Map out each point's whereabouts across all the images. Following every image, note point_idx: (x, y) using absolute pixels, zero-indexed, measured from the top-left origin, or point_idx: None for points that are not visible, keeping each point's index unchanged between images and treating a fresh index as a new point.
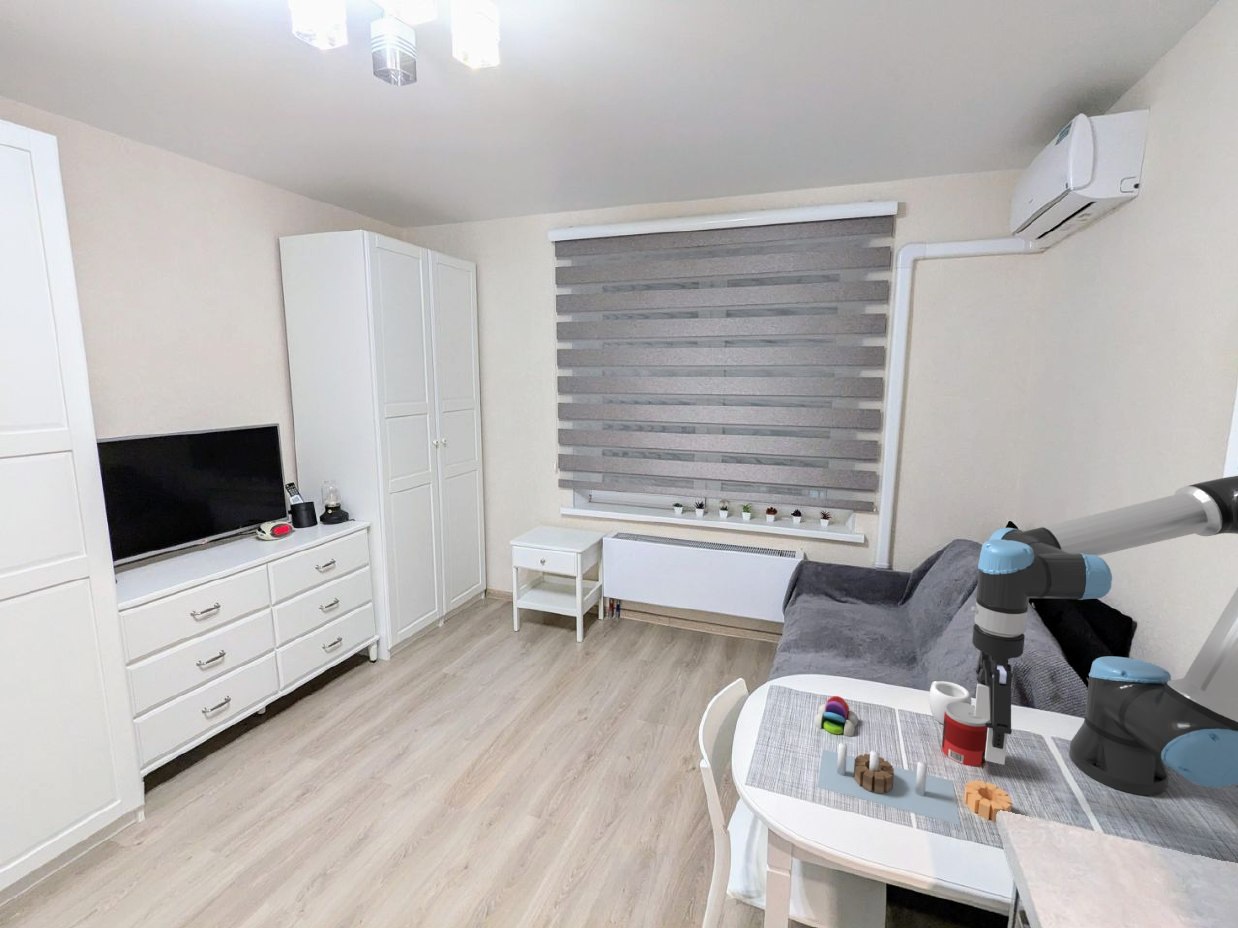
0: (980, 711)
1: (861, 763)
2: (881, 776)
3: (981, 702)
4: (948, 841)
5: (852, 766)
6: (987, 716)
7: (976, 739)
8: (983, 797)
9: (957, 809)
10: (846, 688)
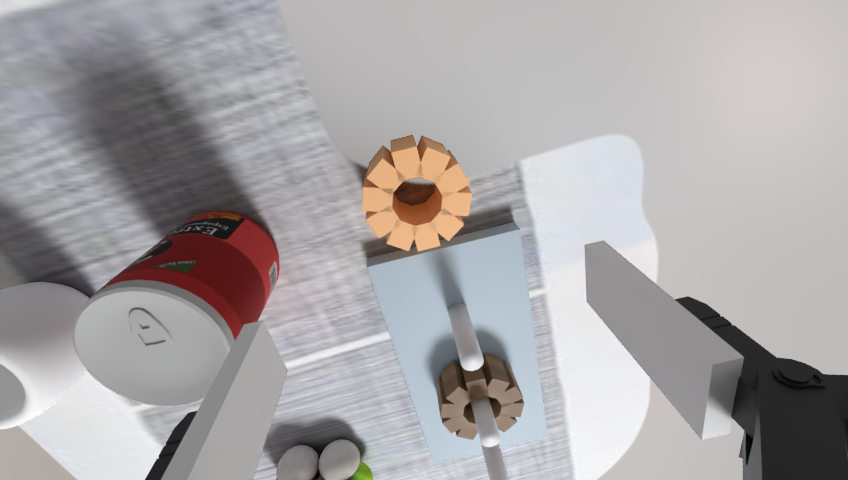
0: (271, 379)
1: None
2: (509, 391)
3: (255, 420)
4: (551, 235)
5: None
6: (265, 342)
7: (233, 278)
8: (394, 202)
9: (467, 242)
10: None
